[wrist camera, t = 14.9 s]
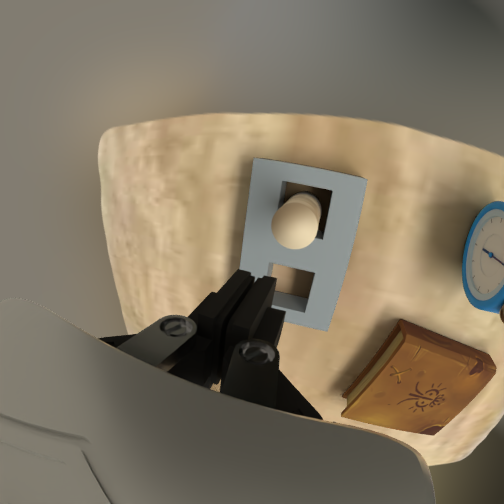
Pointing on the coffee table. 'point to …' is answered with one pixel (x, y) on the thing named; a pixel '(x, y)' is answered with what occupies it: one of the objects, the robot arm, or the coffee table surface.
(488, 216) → the alarm clock
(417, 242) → the coffee table surface
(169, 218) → the coffee table surface
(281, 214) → the dowel
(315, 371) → the coffee table surface
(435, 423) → the diary
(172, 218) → the coffee table surface
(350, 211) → the board
